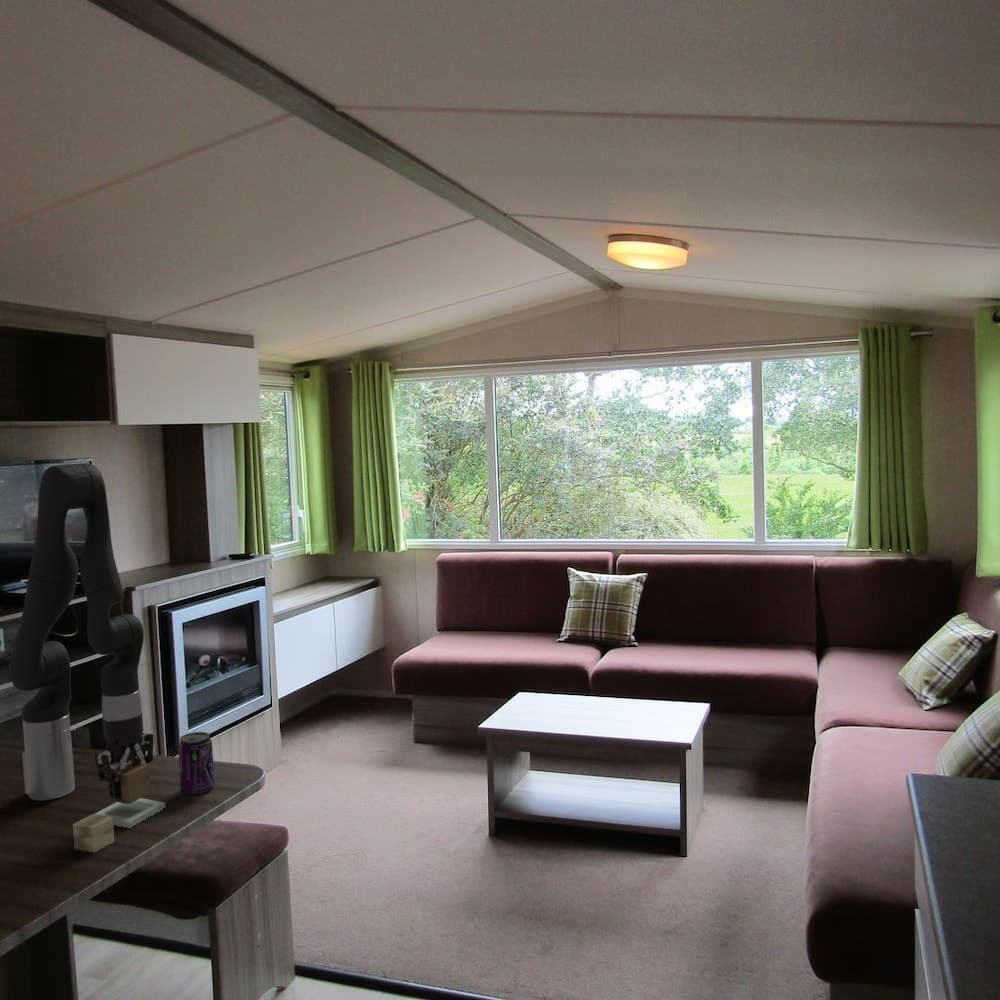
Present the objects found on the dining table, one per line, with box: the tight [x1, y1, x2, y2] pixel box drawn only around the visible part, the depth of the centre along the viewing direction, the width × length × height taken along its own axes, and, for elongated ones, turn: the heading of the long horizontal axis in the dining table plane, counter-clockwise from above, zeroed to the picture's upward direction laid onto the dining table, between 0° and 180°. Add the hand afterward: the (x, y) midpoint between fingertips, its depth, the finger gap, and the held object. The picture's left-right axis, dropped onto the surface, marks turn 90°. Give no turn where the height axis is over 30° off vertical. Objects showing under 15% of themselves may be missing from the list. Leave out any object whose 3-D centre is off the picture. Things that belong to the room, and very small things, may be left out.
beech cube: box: [72, 813, 115, 854], centre depth 181 cm, size 5×5×5 cm
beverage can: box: [177, 731, 216, 795], centre depth 206 cm, size 7×7×12 cm
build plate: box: [94, 797, 166, 829], centre depth 195 cm, size 10×10×1 cm
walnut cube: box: [104, 761, 152, 804], centre depth 194 cm, size 6×6×6 cm
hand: (128, 792), depth 194 cm, fingers closed on walnut cube, 6 cm apart
